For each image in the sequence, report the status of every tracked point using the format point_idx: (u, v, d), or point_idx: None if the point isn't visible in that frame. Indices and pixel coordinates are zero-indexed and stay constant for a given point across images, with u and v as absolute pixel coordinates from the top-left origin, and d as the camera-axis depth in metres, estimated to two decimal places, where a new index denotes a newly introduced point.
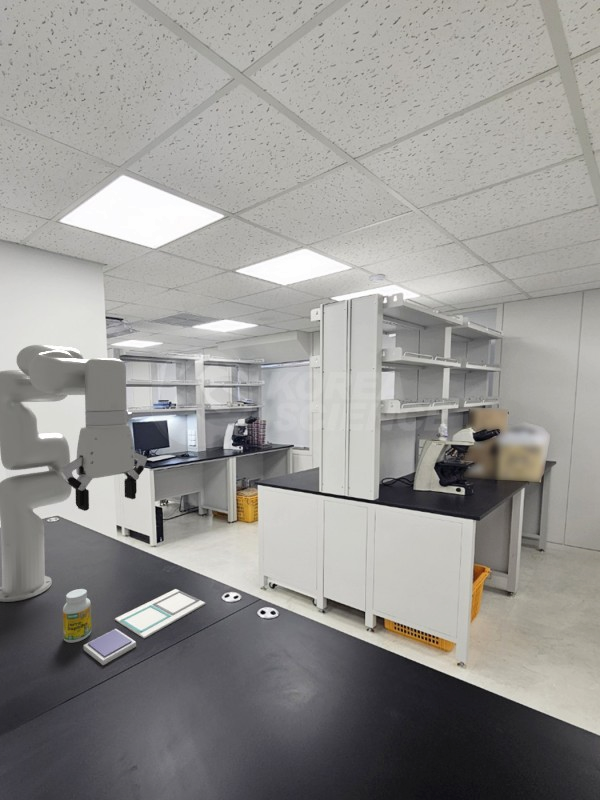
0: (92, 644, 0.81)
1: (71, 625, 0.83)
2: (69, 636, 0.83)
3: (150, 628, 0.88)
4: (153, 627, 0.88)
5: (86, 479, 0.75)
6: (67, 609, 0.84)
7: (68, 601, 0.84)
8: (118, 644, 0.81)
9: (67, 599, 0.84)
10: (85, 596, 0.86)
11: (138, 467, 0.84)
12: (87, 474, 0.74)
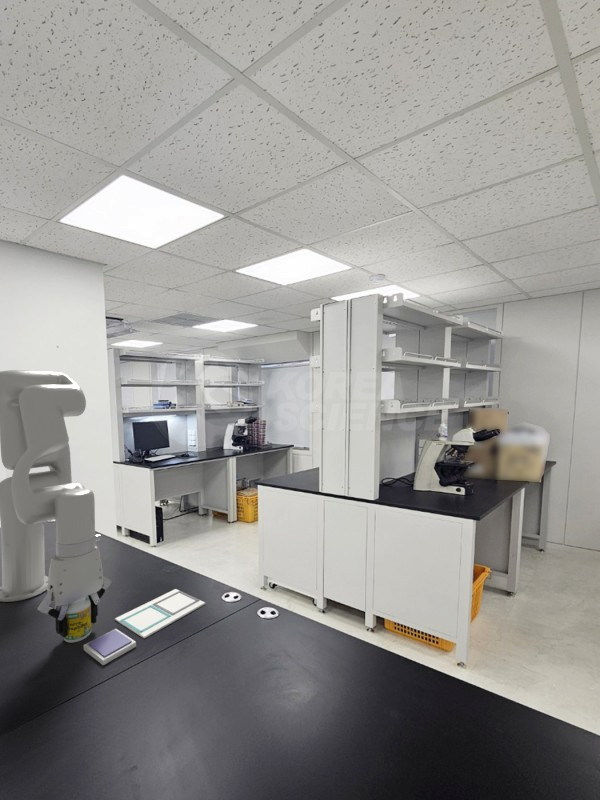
0: (92, 644, 0.81)
1: (71, 625, 0.83)
2: (69, 635, 0.83)
3: (150, 628, 0.88)
4: (153, 627, 0.88)
5: (62, 609, 0.82)
6: (67, 609, 0.84)
7: None
8: (118, 644, 0.81)
9: None
10: None
11: (100, 590, 0.90)
12: (56, 604, 0.81)
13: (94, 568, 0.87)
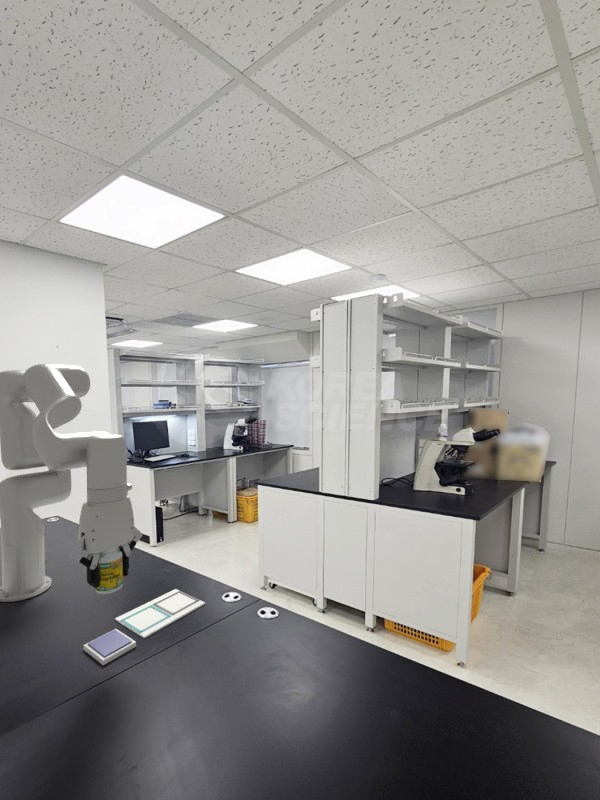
0: (92, 644, 0.81)
1: (103, 575, 0.79)
2: (101, 586, 0.79)
3: (150, 628, 0.88)
4: (153, 627, 0.88)
5: (94, 558, 0.78)
6: (98, 559, 0.79)
7: None
8: (118, 644, 0.81)
9: None
10: None
11: (131, 543, 0.85)
12: (89, 551, 0.77)
13: (126, 517, 0.82)
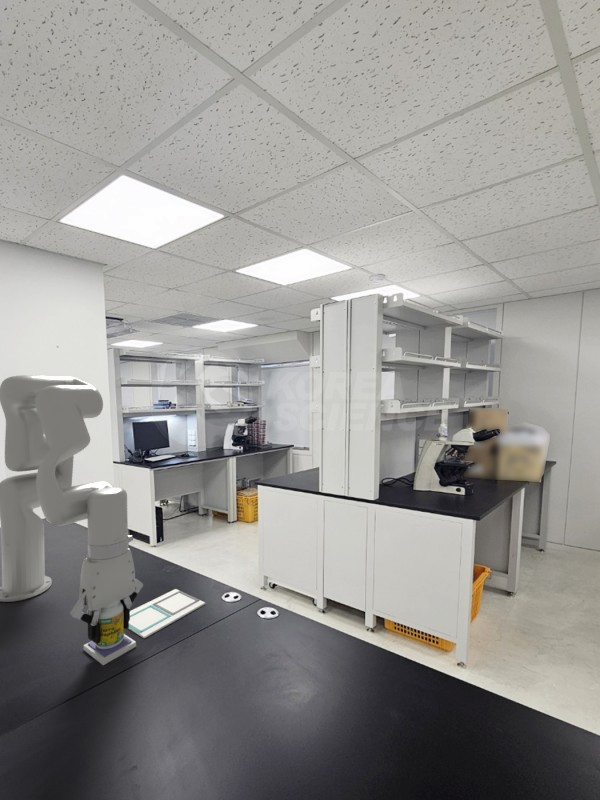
0: (92, 644, 0.81)
1: (104, 631, 0.79)
2: (102, 642, 0.79)
3: (150, 628, 0.88)
4: (153, 627, 0.88)
5: (95, 614, 0.78)
6: None
7: None
8: (118, 644, 0.81)
9: None
10: None
11: (132, 594, 0.85)
12: (89, 608, 0.77)
13: (127, 571, 0.82)
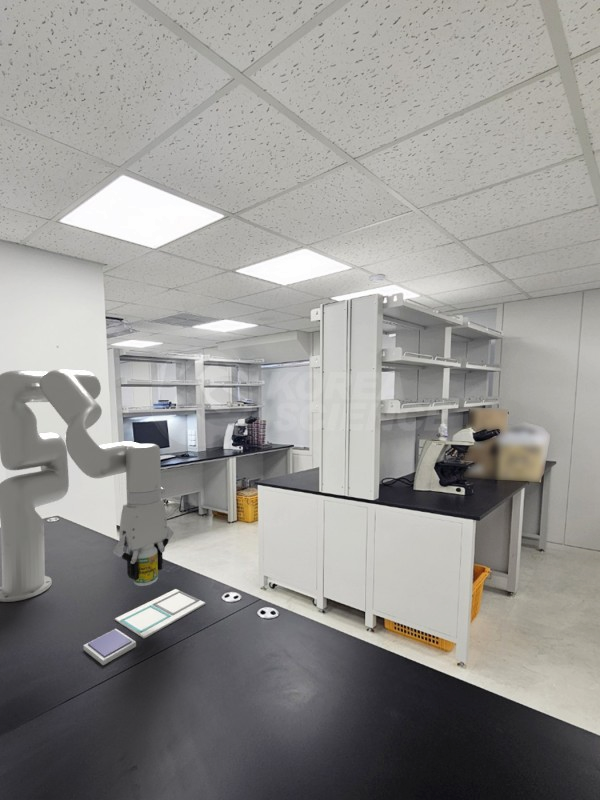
0: (92, 644, 0.81)
1: (142, 569, 0.89)
2: (140, 579, 0.89)
3: (150, 628, 0.88)
4: (153, 627, 0.88)
5: (134, 553, 0.88)
6: None
7: None
8: (118, 644, 0.81)
9: None
10: None
11: (164, 540, 0.95)
12: (130, 547, 0.87)
13: (160, 517, 0.92)
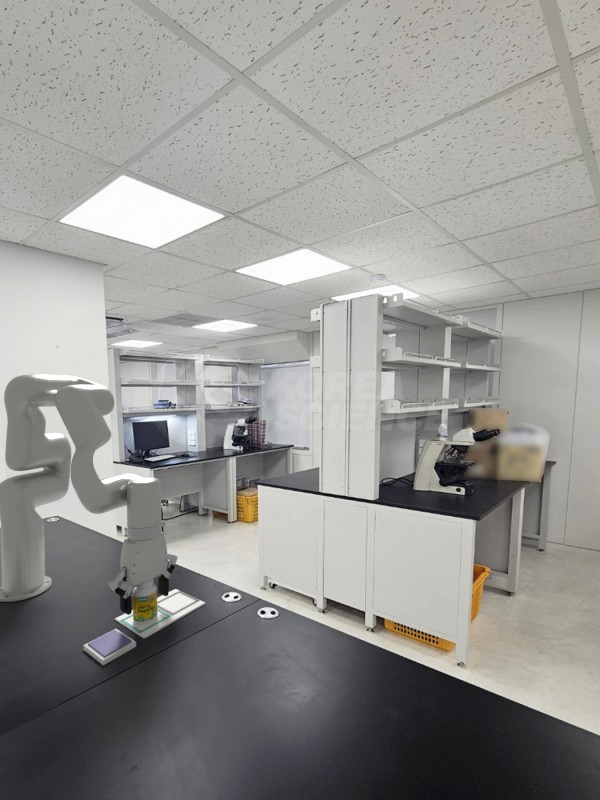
0: (92, 644, 0.81)
1: (141, 607, 0.89)
2: (139, 617, 0.89)
3: (150, 628, 0.88)
4: (153, 627, 0.88)
5: (129, 587, 0.87)
6: (137, 593, 0.89)
7: (138, 585, 0.90)
8: (118, 644, 0.81)
9: None
10: (152, 581, 0.92)
11: (170, 566, 0.97)
12: (130, 583, 0.87)
13: (161, 551, 0.92)
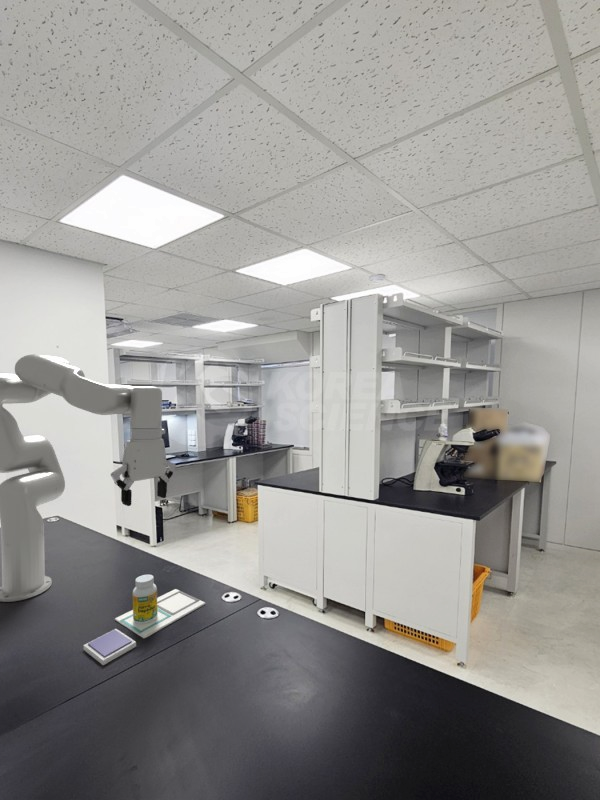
0: (92, 644, 0.81)
1: (141, 607, 0.89)
2: (139, 617, 0.89)
3: (150, 628, 0.88)
4: (153, 627, 0.88)
5: (130, 481, 0.95)
6: (137, 593, 0.89)
7: (138, 585, 0.90)
8: (118, 644, 0.81)
9: (137, 583, 0.90)
10: (152, 581, 0.92)
11: (169, 472, 1.05)
12: (131, 477, 0.95)
13: (160, 455, 1.01)
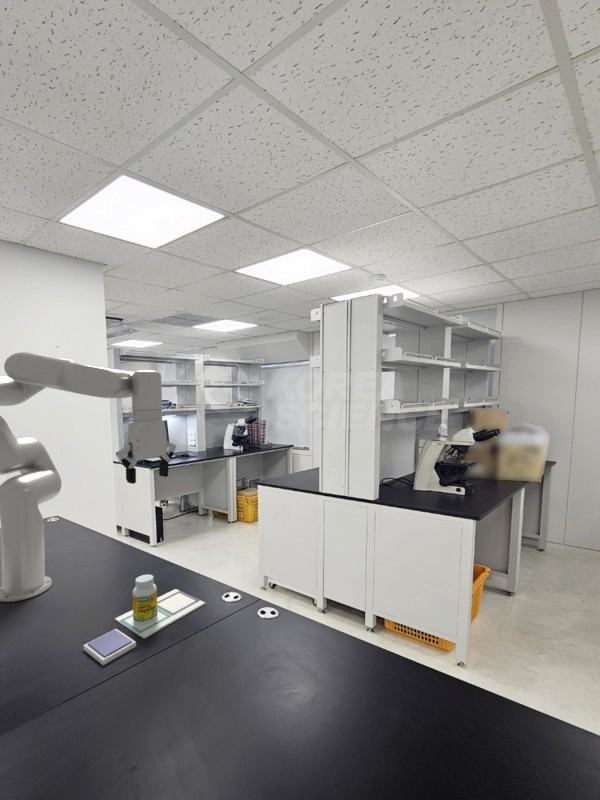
0: (92, 644, 0.81)
1: (141, 607, 0.89)
2: (139, 617, 0.89)
3: (150, 628, 0.88)
4: (153, 627, 0.88)
5: (134, 460, 1.01)
6: (137, 593, 0.89)
7: (138, 585, 0.90)
8: (118, 644, 0.81)
9: (137, 583, 0.90)
10: (152, 581, 0.92)
11: (169, 453, 1.10)
12: (135, 456, 1.00)
13: (161, 435, 1.06)
